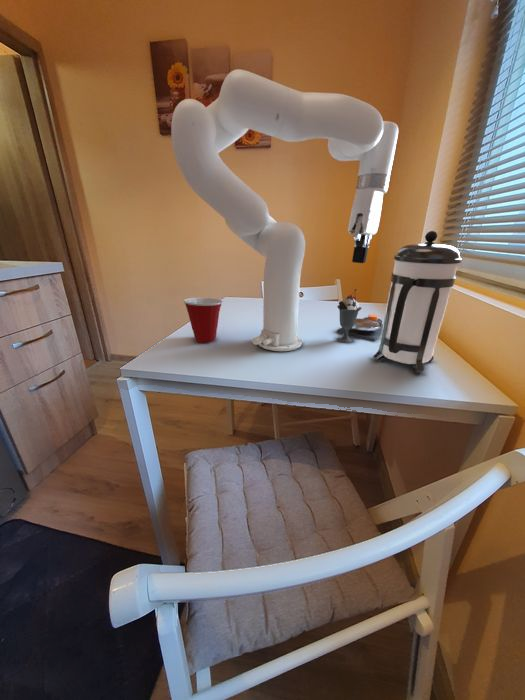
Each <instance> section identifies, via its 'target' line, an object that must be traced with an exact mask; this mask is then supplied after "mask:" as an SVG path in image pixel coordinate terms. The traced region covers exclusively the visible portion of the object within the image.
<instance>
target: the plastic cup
mask: <svg viewBox="0 0 525 700" xmlns="http://www.w3.org/2000/svg"><path fill="white" fill-rule="evenodd" d="M223 302H224V301H223V299H219V298H214V297H189V298H184V299H183V303H184V305H185V308H186V311H187V314H188V319H189V322H190V325H191V330H192V332H193V333H192V334H193V336H194V339H195V341H196V342H197V343H200V344H209V343H213V342H214V341H216V339H217V333H218V332H217V331H218V325H219V316H220V312H221V307H222V304H223Z"/></svg>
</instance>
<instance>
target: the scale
mask: <svg viewBox="0 0 525 700" xmlns="http://www.w3.org/2000/svg"><path fill="white" fill-rule="evenodd" d="M362 319H368V316H366V317H363V318H362ZM375 322H377V323H379V324H380V327H379V329H377V330H371V331H367V330H358V329H354V328H351V329H349V330H348V336H351V337H355V338H359V339H363V340H368V341H371V342H376V341H377V340H378V339H381V334H382V328H383V320H382V319H381V318H378V320H377V321H375ZM336 332H337V333H338V334H342V335H343V334H344V329H343V328H342V327H340V328H339V329H337V331H336Z"/></svg>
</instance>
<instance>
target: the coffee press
mask: <svg viewBox="0 0 525 700" xmlns="http://www.w3.org/2000/svg"><path fill="white" fill-rule="evenodd" d="M424 238H425V241H426V242H424V243H413V244H407V245H403V247H400V248H399V250H397V252H396V255H395V254H394V256H393V261H394V265H393V271H392V272H391V276H390V279H389V280H390V286H389V291H388V298H387V302H386V308H385V313H384V317H383V322H382V324H383V328H382V334H381V337H380V338H379V346H378V350H377V352H375V354H373V356H372V359H373V361H375V362H376V363H380V362H381V361H382V360H384V359H386V358H387V359H389V360H391V361H394V362H398V363H401V364H406V365H411V367H412V371H413V373H414V374H423V372H424V365H423V364H425V363H428V362H432V361H434V357H435V356H434V352H435V349H436V346H437V342H438V338H439V335H440V331H441V328H442V324H443V320H444V317H445V312H446V309H447V305H448V302H449V298H450V294H451V290H452V288H453V287H454V285H455V281H456V278H457V277H456V274H457V273H456V272H457V269H458V266H459V265H460V263H462V258H461V256H460V251H459V250H458V248H456V247H454V246H452V245H447V244H437V243H435V241H436V240H437V238H438V233H437V232H436V231H435V230H429V231H428V232H426V234H425V236H424Z"/></svg>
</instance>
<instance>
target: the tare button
mask: <svg viewBox="0 0 525 700" xmlns="http://www.w3.org/2000/svg"><path fill="white" fill-rule="evenodd" d="M367 317H368V320H372V321H377V320H378V319H379V315H378V314H368V315H367Z"/></svg>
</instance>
